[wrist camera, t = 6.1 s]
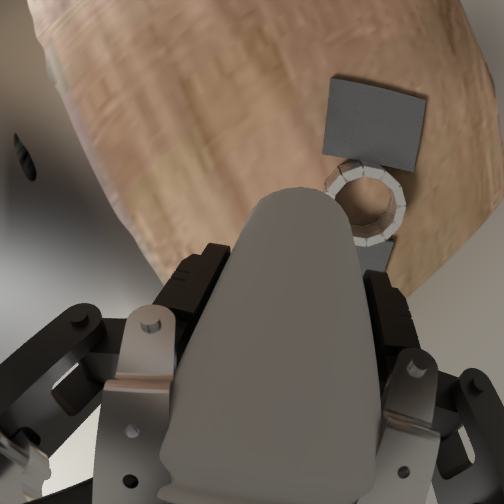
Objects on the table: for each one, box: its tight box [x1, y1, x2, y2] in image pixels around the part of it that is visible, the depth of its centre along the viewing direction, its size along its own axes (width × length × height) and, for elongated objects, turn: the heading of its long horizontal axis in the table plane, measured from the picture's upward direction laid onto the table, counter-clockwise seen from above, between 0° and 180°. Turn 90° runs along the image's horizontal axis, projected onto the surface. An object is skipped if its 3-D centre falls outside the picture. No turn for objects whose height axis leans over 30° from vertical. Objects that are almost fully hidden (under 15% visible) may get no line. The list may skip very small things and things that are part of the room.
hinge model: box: [322, 78, 426, 278], centre depth 28 cm, size 25×10×3 cm, turn 177°
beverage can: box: [137, 187, 382, 504], centre depth 8 cm, size 5×5×12 cm
